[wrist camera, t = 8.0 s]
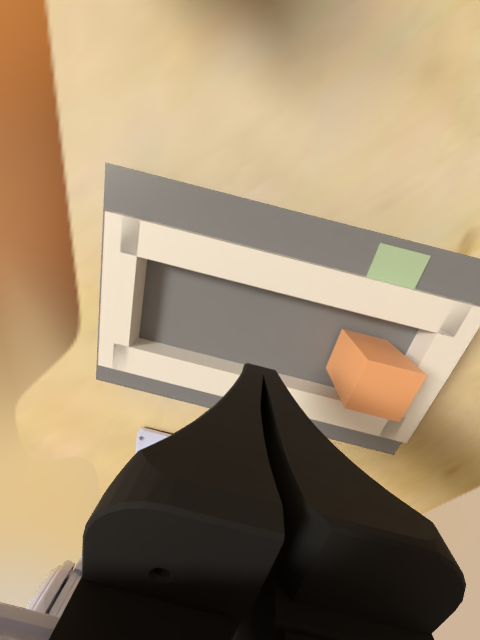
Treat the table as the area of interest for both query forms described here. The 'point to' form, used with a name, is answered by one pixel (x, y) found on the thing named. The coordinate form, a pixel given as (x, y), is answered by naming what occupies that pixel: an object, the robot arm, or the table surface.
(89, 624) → the robot arm
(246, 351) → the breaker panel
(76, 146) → the table surface
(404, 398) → the breaker lever
